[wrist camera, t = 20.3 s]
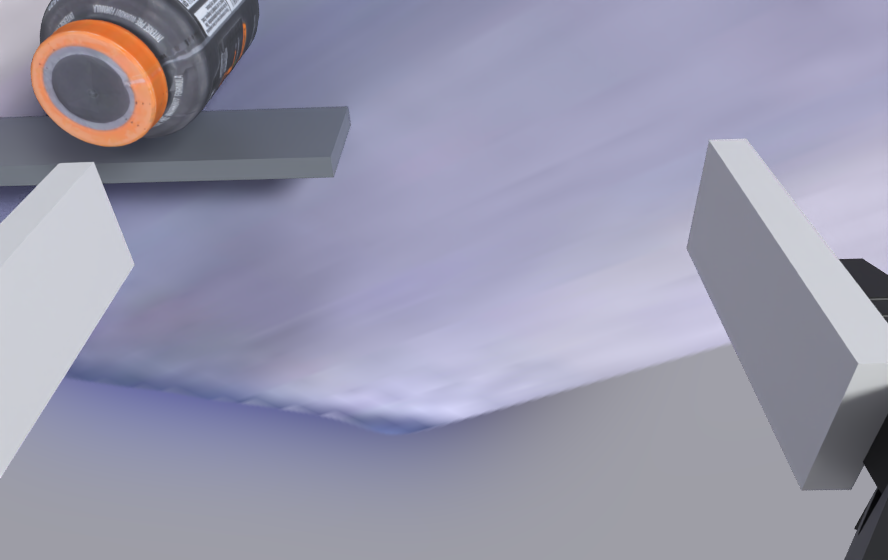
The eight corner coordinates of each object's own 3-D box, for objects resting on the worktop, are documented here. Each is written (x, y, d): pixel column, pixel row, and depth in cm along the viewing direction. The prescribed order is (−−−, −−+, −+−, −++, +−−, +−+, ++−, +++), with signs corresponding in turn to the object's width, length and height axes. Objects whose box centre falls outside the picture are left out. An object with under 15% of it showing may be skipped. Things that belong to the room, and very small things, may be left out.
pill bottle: (204, 87, 34) (111, 205, 25) (103, -13, 31) (-44, 78, 22) (289, 11, 32) (219, 110, 23) (187, -104, 29) (62, -44, 20)
